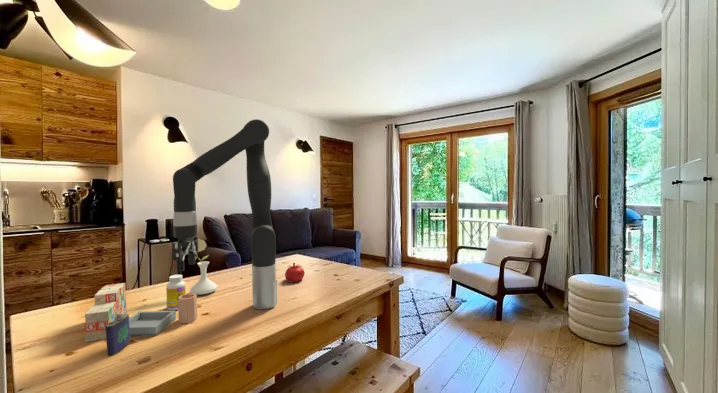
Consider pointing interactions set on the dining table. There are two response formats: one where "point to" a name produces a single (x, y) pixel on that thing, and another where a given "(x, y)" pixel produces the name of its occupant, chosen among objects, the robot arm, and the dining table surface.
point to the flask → (117, 334)
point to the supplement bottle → (174, 291)
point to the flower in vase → (203, 274)
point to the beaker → (187, 308)
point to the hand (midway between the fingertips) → (186, 267)
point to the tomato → (294, 273)
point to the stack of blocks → (105, 310)
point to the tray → (150, 322)
